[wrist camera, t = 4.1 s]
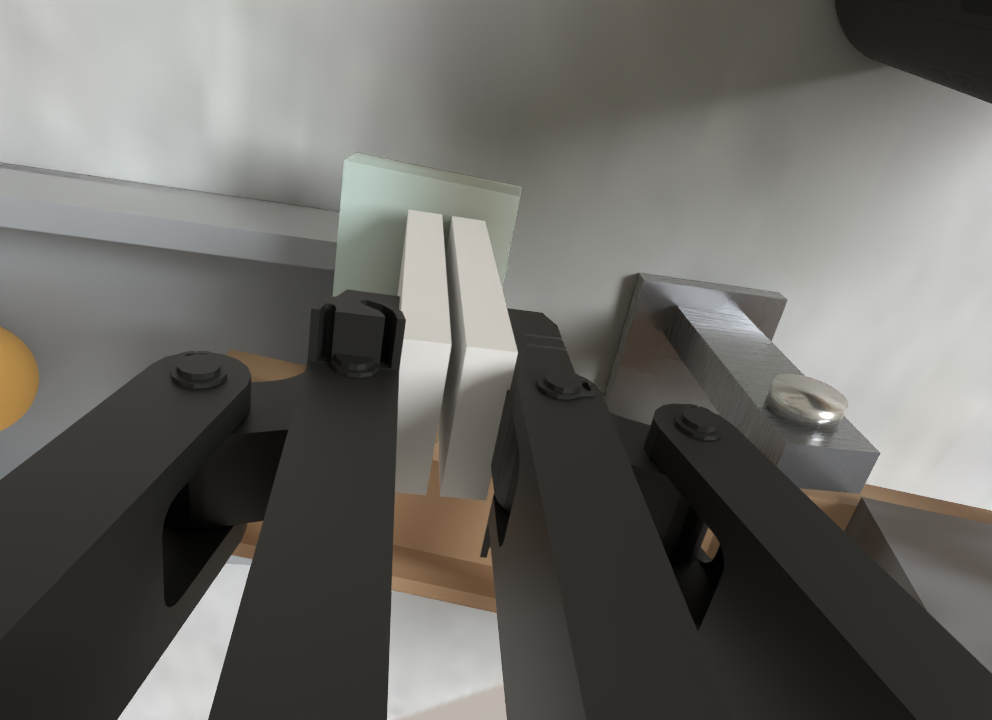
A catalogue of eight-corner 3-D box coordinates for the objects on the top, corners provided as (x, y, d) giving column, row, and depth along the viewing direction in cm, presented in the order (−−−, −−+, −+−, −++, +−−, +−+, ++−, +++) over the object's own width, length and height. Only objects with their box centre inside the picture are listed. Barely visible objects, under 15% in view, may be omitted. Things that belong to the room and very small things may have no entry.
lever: (229, 502, 22) (84, 701, 16) (234, 126, 17) (26, 194, 11) (1002, 669, 22) (1180, 946, 15) (1240, 333, 17) (1653, 534, 10)
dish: (-62, 485, 25) (-115, 541, 22) (-132, 143, 20) (-211, 166, 17) (341, 516, 27) (333, 570, 25) (372, 216, 22) (367, 246, 19)
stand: (569, 521, 28) (624, 720, 21) (639, 273, 24) (744, 411, 16) (688, 530, 29) (784, 725, 21) (779, 292, 24) (942, 433, 17)
